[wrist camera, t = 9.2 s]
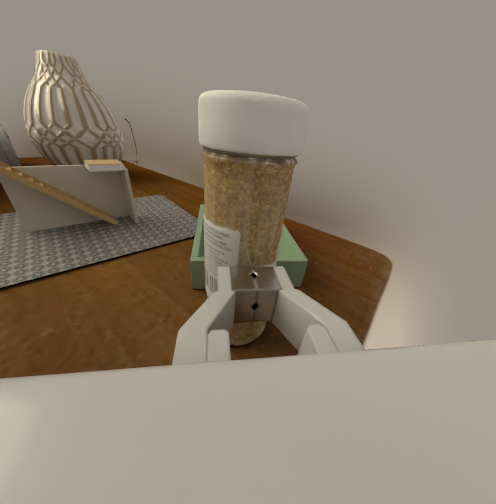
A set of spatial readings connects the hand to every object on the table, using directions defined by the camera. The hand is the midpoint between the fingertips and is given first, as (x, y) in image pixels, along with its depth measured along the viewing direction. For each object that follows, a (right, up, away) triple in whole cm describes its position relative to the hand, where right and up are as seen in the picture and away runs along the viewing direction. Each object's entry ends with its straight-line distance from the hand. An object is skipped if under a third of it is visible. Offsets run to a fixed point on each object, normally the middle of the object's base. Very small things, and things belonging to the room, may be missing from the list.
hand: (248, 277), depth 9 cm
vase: (-36, +20, +38) cm, 56 cm away
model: (-20, +4, +16) cm, 26 cm away
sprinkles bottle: (-1, -4, +6) cm, 7 cm away
